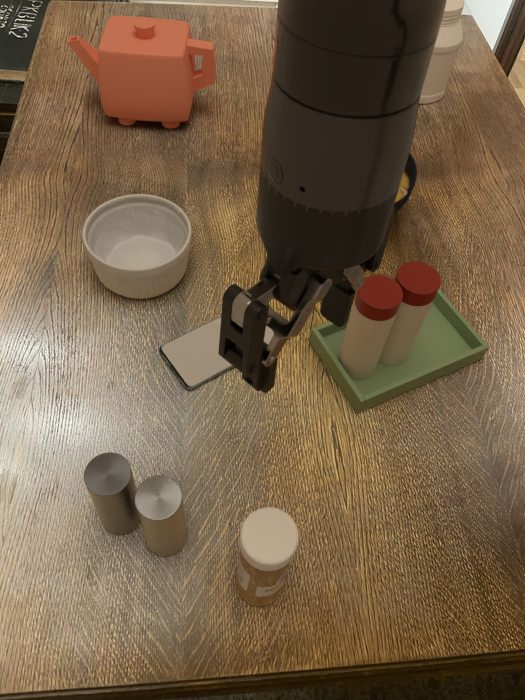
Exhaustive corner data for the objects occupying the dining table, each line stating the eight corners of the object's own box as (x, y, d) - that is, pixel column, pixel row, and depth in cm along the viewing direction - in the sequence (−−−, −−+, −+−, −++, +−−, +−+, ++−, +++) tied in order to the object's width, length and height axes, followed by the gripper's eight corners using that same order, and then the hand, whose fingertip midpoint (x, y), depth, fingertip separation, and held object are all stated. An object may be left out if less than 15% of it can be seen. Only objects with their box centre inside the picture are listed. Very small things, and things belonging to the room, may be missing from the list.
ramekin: (200, 301, 76) (199, 263, 71) (93, 314, 74) (83, 275, 68) (185, 229, 84) (183, 189, 78) (88, 238, 81) (79, 198, 76)
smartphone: (156, 347, 71) (261, 296, 77) (157, 350, 71) (260, 298, 77) (187, 390, 68) (294, 333, 74) (187, 392, 68) (293, 335, 74)
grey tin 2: (192, 547, 58) (188, 510, 50) (152, 563, 57) (142, 527, 49) (179, 510, 61) (173, 468, 52) (140, 524, 59) (128, 484, 51)
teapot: (73, 127, 95) (54, 37, 84) (88, 82, 103) (73, -6, 91) (212, 137, 96) (212, 49, 85) (218, 92, 104) (218, 6, 92)
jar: (383, 67, 112) (404, -21, 100) (434, 70, 112) (460, -17, 100) (392, 103, 105) (415, 14, 93) (446, 105, 106) (476, 17, 94)
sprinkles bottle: (276, 613, 56) (292, 571, 45) (228, 599, 56) (232, 554, 45) (288, 564, 58) (305, 514, 47) (242, 551, 59) (249, 498, 48)
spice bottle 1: (382, 373, 71) (411, 301, 61) (348, 384, 70) (371, 314, 59) (363, 343, 74) (389, 269, 63) (330, 354, 72) (350, 281, 62)
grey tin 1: (147, 526, 59) (136, 486, 51) (107, 541, 58) (89, 502, 50) (136, 490, 61) (124, 446, 53) (96, 504, 60) (78, 461, 52)
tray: (428, 295, 80) (434, 282, 77) (481, 359, 74) (489, 346, 72) (308, 340, 74) (311, 327, 72) (356, 413, 68) (361, 401, 66)
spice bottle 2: (415, 359, 73) (449, 287, 62) (382, 370, 71) (411, 299, 61) (396, 330, 75) (426, 256, 64) (363, 340, 74) (389, 267, 63)
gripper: (299, 262, 27) (271, 442, 40) (462, 139, 34) (394, 325, 47) (183, 185, 30) (191, 376, 42) (355, 85, 37) (318, 275, 49)
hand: (297, 349), depth 45 cm, fingers open, 8 cm apart
